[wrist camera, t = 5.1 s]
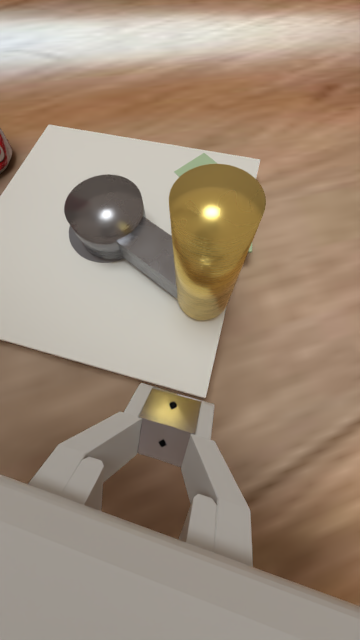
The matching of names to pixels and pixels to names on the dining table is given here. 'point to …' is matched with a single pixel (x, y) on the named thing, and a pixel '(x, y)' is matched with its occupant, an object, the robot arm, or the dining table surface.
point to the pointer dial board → (99, 264)
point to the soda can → (4, 152)
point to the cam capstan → (175, 231)
